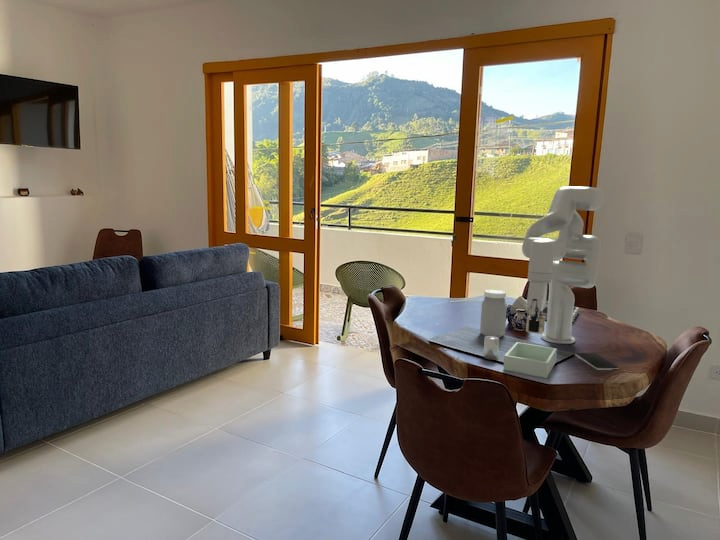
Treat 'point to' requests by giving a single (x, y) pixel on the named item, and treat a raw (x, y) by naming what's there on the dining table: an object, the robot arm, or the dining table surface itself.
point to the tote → (530, 359)
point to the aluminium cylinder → (491, 347)
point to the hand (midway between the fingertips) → (535, 329)
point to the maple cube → (541, 324)
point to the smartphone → (596, 361)
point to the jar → (493, 313)
